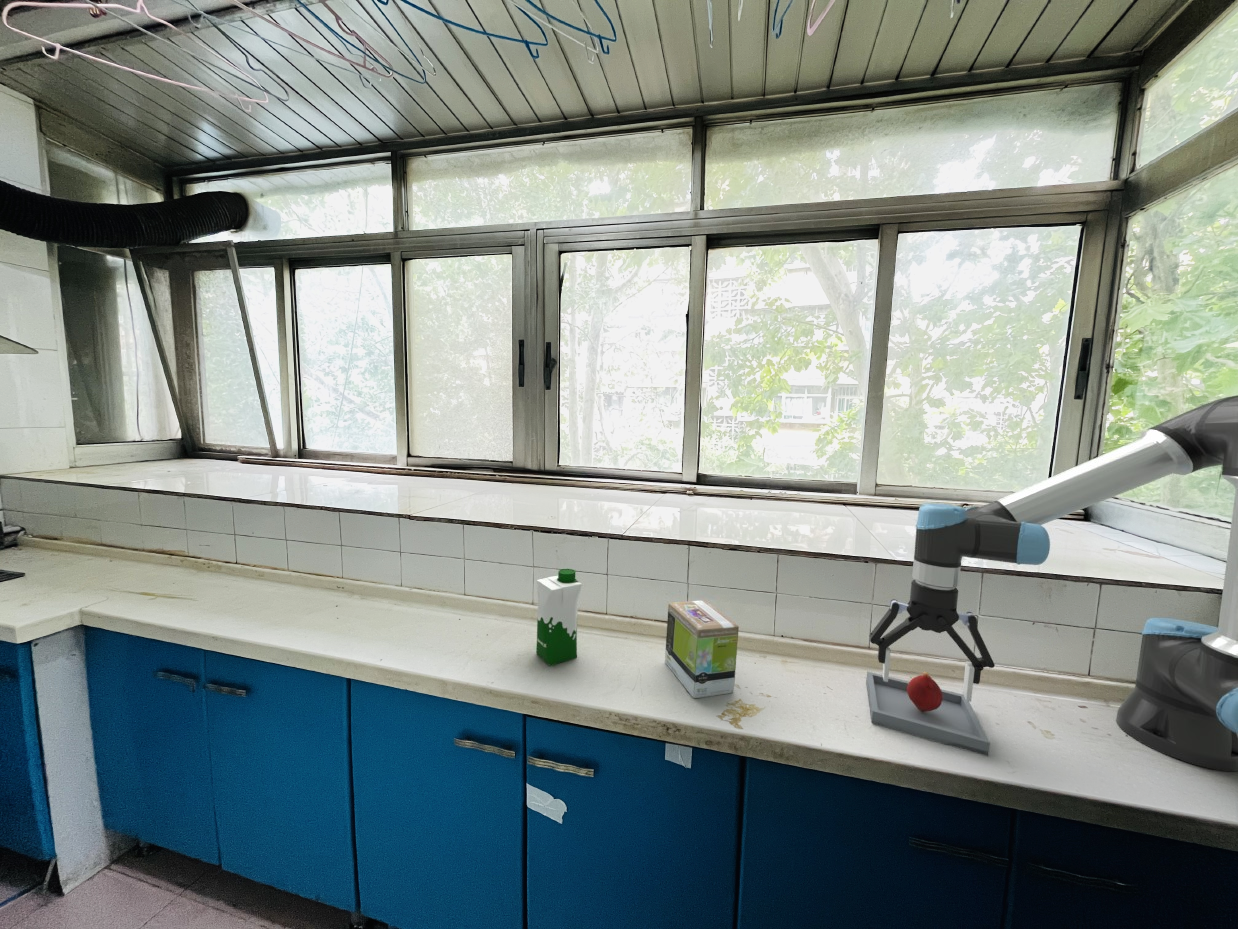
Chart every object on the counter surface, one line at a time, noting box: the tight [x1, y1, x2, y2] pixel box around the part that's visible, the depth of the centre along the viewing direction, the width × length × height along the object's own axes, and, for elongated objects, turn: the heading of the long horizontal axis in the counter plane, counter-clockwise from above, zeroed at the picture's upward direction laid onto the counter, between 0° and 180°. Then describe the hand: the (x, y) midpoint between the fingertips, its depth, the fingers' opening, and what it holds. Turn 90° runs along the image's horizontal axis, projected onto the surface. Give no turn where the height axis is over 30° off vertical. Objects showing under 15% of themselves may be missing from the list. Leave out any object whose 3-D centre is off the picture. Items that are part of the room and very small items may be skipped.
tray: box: [865, 671, 991, 757], centre depth 90 cm, size 18×16×2 cm
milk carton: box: [535, 568, 583, 667], centre depth 106 cm, size 9×9×20 cm
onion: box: [907, 671, 943, 712], centre depth 90 cm, size 6×6×8 cm
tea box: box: [664, 599, 740, 699], centre depth 100 cm, size 15×10×15 cm
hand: (924, 687), depth 90 cm, fingers open, 13 cm apart
